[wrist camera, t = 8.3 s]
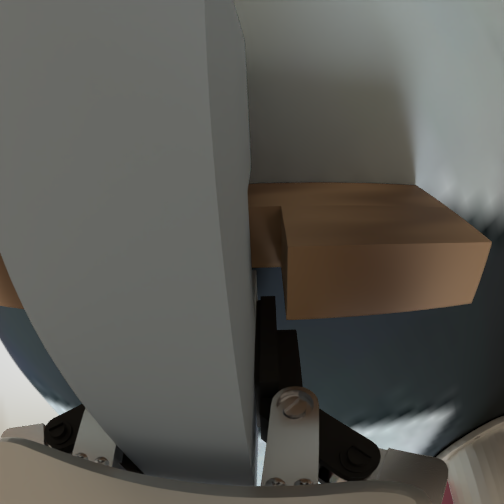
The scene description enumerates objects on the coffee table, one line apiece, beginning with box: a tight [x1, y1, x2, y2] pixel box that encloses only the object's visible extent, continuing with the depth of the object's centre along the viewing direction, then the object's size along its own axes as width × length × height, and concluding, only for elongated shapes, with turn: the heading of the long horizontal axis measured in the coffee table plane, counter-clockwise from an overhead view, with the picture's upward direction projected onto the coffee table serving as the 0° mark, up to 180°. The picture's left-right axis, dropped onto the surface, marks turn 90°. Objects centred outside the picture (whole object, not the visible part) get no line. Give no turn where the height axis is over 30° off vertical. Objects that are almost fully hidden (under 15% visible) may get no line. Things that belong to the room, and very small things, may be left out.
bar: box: [0, 0, 258, 486], centre depth 7 cm, size 3×12×7 cm, turn 3°
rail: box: [0, 182, 492, 320], centre depth 9 cm, size 16×2×5 cm, turn 93°
